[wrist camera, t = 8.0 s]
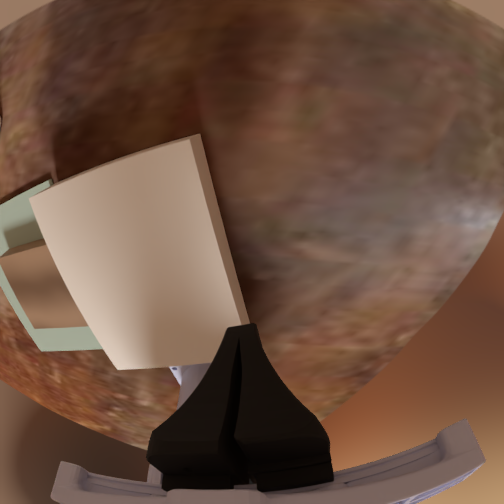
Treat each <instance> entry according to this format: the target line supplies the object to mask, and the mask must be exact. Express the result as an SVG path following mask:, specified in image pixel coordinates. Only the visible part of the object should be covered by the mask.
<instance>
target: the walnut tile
mask: <svg viewBox="0 0 504 504" xmlns="http://www.w3.org/2000/svg"><path fill="white" fill-rule="evenodd" d="M0 265H1V268H2V270H3V272H4V274H5V276H6V278H7V280H8V282H9V284H10V286H11V288H12V290H13V292H14V294H15V296H16V298H17V300H18V301H19V303H20V305H21V307H22V309H23V310H24V312H25V314H26V316H27V317H28V319H29V321H30V322H31V324H32V326H33V327H34V329H47V328H69V327H86V326H88V324H87V322H86V321H85V319H84V317H83V315H82V314H81V312H80V310H79V308H78V307H77V305H76V303H75V301H74V299H73V298H72V296H71V294H70V292H69V290H68V288H67V286H66V284H65V282H64V281H63V279H62V277H61V275H60V272H59V270H58V268H57V266H56V264H55V262H54V260H53V258H52V256H51V253H50V251H49V249H48V247H47V244H46V242H45V240H44V238H43V239H40V240H36V241H33V242H30V243H26V244H23V245H20V246H17V247H14V248H10V249H8V250H7V251H6V252H5V253H4V254H3V255H1V256H0Z"/></svg>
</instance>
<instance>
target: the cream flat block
mask: <svg viewBox="0 0 504 504" xmlns="http://www.w3.org/2000/svg"><path fill="white" fill-rule="evenodd" d="M29 201H30V204H31V207H32V209H33V212H34V215H35V217H36V220H37V223H38V225H39V228H40V230H41V233H42V235H43V237H44V240H45V242H46V244H47V247H48V249H49V251H50V253H51V256H52V258H53V260H54V262H55V264H56V266H57V268H58V270H59V272H60V275H61V277H62V279H63V281H64V282H65V284H66V286H67V288H68V290H69V292H70V294H71V296H72V298H73V299H74V301H75V303H76V305H77V307H78V308H79V310H80V312H81V314H82V315H83V317H84V319H85V321H86V322H87V324H88V326H89V327H90V329H91V331H92V332H93V334H94V335H95V337H96V339H97V340H98V342H99V343H100V345H101V346H102V348H103V349H104V351H105V352H106V354H107V355H108V357H109V358H110V360H111V361H112V363H113V364H114V366H115V367H116V368H117V370H124V369H144V368H159V367H172V366H183V365H193V364H202V363H211V362H212V361H213V359H214V357H215V355H216V353H217V351H218V349H219V346H220V344H221V342H222V339H223V337H224V334H225V332H226V329H227V328H228V327H233V326H239V325H245V324H250V321H249V318H248V314H247V311H246V307H245V304H244V300H243V296H242V293H241V289H240V285H239V282H238V278H237V274H236V271H235V267H234V263H233V260H232V256H231V252H230V248H229V245H228V241H227V237H226V233H225V230H224V226H223V222H222V218H221V214H220V210H219V207H218V203H217V199H216V195H215V191H214V187H213V183H212V179H211V175H210V171H209V167H208V163H207V159H206V155H205V151H204V147H203V143H202V139H201V135H200V134H196V135H192V136H188V137H185V138H181V139H178V140H174V141H171V142H167V143H164V144H160V145H157V146H154V147H151V148H148V149H144V150H141V151H138V152H135V153H132V154H129V155H126V156H123V157H121V158H118V159H115V160H112V161H110V162H107V163H104V164H101V165H99V166H96V167H94V168H91V169H89V170H86V171H84V172H81V173H79V174H76V175H74V176H71V177H69V178H67V179H64V180H62V181H60V182H58V183H56V184H54V185H52V186H50V187H48V188H46V189H44V190H43V191H41V192H39V193H37V194H35V195H34V196H32V197H30V198H29Z"/></svg>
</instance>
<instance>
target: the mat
mask: <svg viewBox="0 0 504 504" xmlns="http://www.w3.org/2000/svg"><path fill="white" fill-rule="evenodd" d="M52 185H53V182H52V179H50V180H48V181H46V182H43V183H41V184H39V185H37V186H35V187H33V188H31V189H29V190H27V191H25V192H23V193H22V194H20V195H18V196H16V197H14V198H12V199H10V200H9V201H7V202H5V203H3V204H1V205H0V256H1V255H3V254H4V253H5V252H6V251H7V250H8V249H10V248H14V247H17V246H20V245H23V244H26V243H30V242H33V241H36V240H40V239H43V238H44V237H43V235H42V233H41V230H40V228H39V225H38V223H37V220H36V217H35V215H34V212H33V209H32V207H31V204H30V201H29V198H30V197H32V196H34V195H35V194H37V193H39V192H41V191H43V190H44V189H46V188H48V187H50V186H52ZM0 286H1V288H2V290H3V291H4V293H5V295H6V297H7V299H8V300H9V302H10V304H11V306H12V307H13V309H14V311H15V312H16V314H17V316H18V317H19V319H20V320H21V322H22V324H23V325H24V327H25V328H26V330H27V331H28V333H29V334H30V336H31V337H32V339H33V340H34V342H35V343H36V345H37V346H38V347H39V349H40V350H41V351H70V350H92V349H103V348H102V346H101V345H100V343H99V342H98V340H97V339H96V337H95V335H94V334H93V332H92V331H91V329H90V327H89V326H86V327H69V328H47V329H34V327H33V326H32V324H31V322H30V321H29V319H28V317H27V316H26V314H25V312H24V310H23V309H22V307H21V305H20V303H19V301H18V300H17V298H16V296H15V294H14V292H13V290H12V288H11V286H10V284H9V282H8V280H7V278H6V276H5V274H4V272H3V270H2V268H1V265H0Z"/></svg>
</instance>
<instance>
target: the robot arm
mask: <svg viewBox="0 0 504 504" xmlns="http://www.w3.org/2000/svg"><path fill="white" fill-rule="evenodd" d="M170 369H171V371H172V372H173V374H174V376H175V377H176V379H177V381H178V382H179V384H180V386H181V387H180V393H179V399H178V405H177V411H176V412H175V413H174V414H173V415H172V416H171V417H169V418H168V419H167V420H166V421H165V422H164V423H162V424H161V425H160V426H159V427H157V428H156V429H155V430H153V431H152V434H151V437H150V440H149V445H148V450H147V455H146V458H147V461H148V462H149V463H150V466H149V472H148V479H147V482H140V481H133V480H125V479H120V478H114V477H108V476H103V475H98V474H94V473H89V472H87V471H86V470H85V469H84V468H82V467H80V466H78V465H75V464H72V463H68V462H64V461H61V463H60V466H59V469H58V472H57V476H56V479H55V483H54V486H53V490H52V493H51V499H53V500H55V501H57V502H59V503H60V504H416V503H419V502H421V501H423V500H425V499H428V498H430V497H432V496H434V495H436V494H438V493H440V492H442V491H444V490H446V489H448V488H450V487H452V486H454V485H456V484H458V483H460V482H461V481H463V480H465V479H466V478H467V477H468V476H470V475H471V474H472V473H473V472H475V471H476V470H477V469H478V468H479V467H480V466H482V465H483V464H484V463H485V461H486V459H485V457H484V455H483V453H482V450H481V448H480V446H479V444H478V442H477V439H476V437H475V435H474V434H473V431H472V429H471V427H470V425H469V423H468V421H467V419H463V420H461V421H459V422H457V423H455V424H453V425H451V426H448V427H447V428H445V429H443V430H442V431H440V432H439V433H438V435H437V437H436V439H433V440H431V441H429V442H426V443H424V444H422V445H419V446H416V447H414V448H412V449H409V450H406V451H403V452H401V453H398V454H395V455H392V456H389V457H387V458H383V459H380V460H377V461H374V462H370V463H367V464H363V465H360V466H357V467H352V468H348V469H344V470H340V471H336V472H333V468H332V463H331V456H330V441H329V437H328V435H327V433H326V431H325V430H324V428H323V426H322V425H321V423H320V422H319V421H318V419H317V418H316V416H315V415H314V414H313V413H311V412H310V411H309V410H308V409H307V408H306V407H305V406H304V405H303V404H302V403H301V402H300V401H299V400H298V399H297V398H296V397H295V396H294V395H293V394H292V392H291V391H290V390H289V389H288V388H287V387H286V385H285V384H284V383H283V381H282V380H281V379H280V377H279V376H278V374H277V373H276V371H275V370H274V368H273V367H272V365H271V363H270V362H269V360H268V358H267V356H266V354H265V352H264V350H263V348H262V344H261V340H260V337H259V333H258V329H257V325H256V324H254V323H251V324H245V325H239V326H233V327H228V328H227V329H226V332H225V334H224V337H223V339H222V342H221V344H220V346H219V349H218V351H217V353H216V355H215V357H214V359H213V361H212V362H211V363H202V364H193V365H183V366H172V367H170Z"/></svg>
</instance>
